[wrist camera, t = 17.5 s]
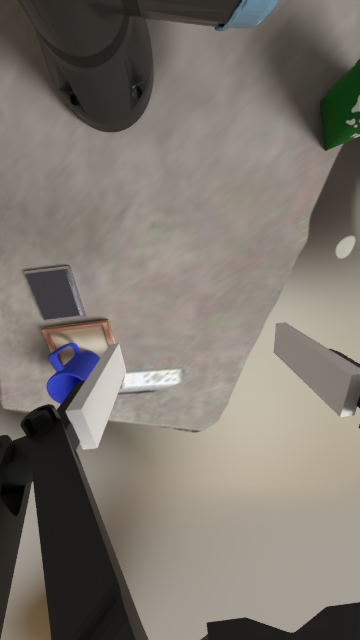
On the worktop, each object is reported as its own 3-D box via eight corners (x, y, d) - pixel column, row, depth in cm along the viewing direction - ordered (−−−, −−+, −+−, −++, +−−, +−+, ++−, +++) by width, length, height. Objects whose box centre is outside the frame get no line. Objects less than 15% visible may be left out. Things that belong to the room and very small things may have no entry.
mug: (90, 329, 42) (67, 351, 32) (111, 370, 46) (96, 400, 37) (58, 338, 42) (26, 363, 33) (82, 378, 46) (59, 410, 37)
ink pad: (26, 271, 37) (21, 271, 36) (69, 265, 37) (66, 266, 36) (46, 320, 41) (42, 322, 40) (85, 315, 41) (83, 317, 40)
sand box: (46, 327, 42) (40, 330, 40) (108, 319, 42) (105, 322, 40) (70, 384, 48) (66, 389, 46) (124, 377, 48) (122, 381, 46)
